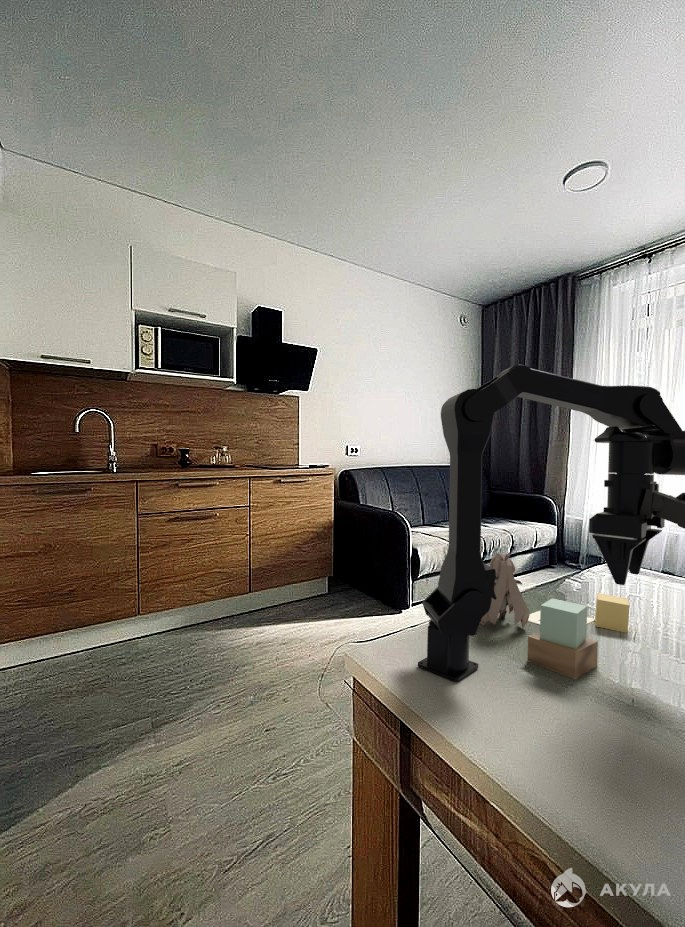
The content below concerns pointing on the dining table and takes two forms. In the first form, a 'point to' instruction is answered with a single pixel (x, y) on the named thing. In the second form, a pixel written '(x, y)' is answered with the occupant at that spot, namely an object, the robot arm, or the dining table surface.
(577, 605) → the pale green cube
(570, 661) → the base block
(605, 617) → the brick
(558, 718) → the dining table surface
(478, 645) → the dining table surface
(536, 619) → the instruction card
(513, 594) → the toy
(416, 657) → the dining table surface
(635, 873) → the dining table surface
